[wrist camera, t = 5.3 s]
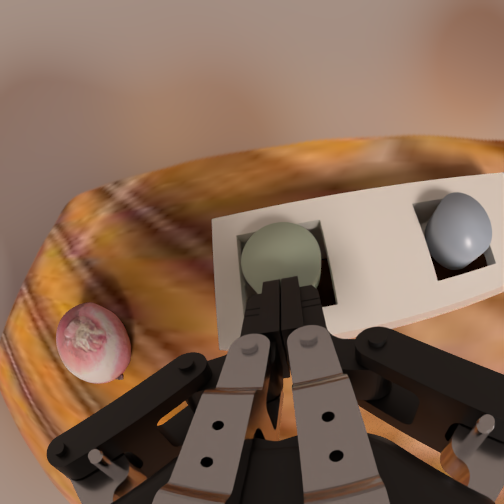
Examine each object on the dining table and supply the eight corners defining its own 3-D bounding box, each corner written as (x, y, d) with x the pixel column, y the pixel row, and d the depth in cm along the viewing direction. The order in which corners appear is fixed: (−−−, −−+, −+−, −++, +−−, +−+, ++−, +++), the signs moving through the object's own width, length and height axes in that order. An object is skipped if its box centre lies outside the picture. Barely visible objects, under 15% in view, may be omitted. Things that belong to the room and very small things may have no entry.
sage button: (313, 235, 16) (312, 215, 14) (326, 300, 15) (328, 290, 12) (249, 248, 17) (238, 230, 15) (256, 312, 15) (245, 303, 13)
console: (508, 211, 19) (543, 170, 12) (532, 278, 16) (577, 249, 9) (243, 262, 24) (211, 219, 17) (252, 353, 21) (219, 349, 14)
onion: (156, 339, 25) (121, 356, 17) (120, 388, 24) (84, 413, 17) (101, 286, 25) (58, 286, 18) (71, 337, 25) (29, 347, 18)
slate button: (461, 209, 14) (476, 189, 12) (481, 263, 13) (500, 248, 11) (416, 217, 15) (428, 196, 13) (435, 276, 14) (452, 261, 11)
